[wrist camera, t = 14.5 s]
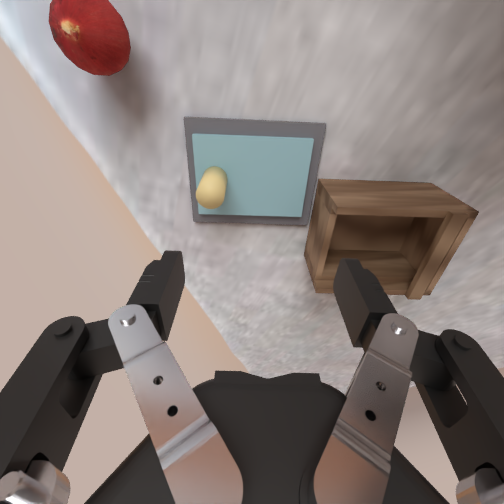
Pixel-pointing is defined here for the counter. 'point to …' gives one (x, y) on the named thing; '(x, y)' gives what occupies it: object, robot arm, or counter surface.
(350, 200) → the box
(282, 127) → the mat
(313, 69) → the counter surface
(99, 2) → the red oval lump
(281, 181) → the thin pale-blue panel
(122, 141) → the counter surface
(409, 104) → the counter surface
